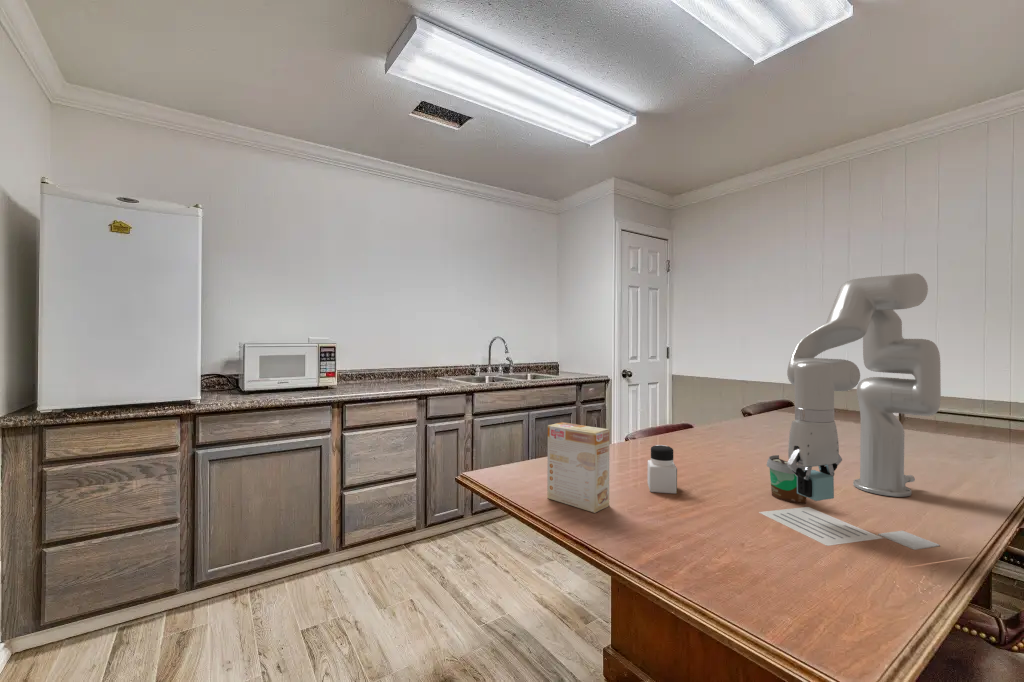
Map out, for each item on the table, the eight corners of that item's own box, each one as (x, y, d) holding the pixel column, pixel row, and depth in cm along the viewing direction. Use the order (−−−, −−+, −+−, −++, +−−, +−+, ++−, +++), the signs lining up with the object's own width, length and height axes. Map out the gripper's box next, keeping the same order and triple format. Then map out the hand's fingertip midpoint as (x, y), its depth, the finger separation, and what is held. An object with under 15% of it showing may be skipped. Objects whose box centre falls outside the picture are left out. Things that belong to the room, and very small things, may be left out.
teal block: (814, 490, 106) (813, 469, 106) (833, 498, 101) (833, 476, 101) (796, 493, 105) (796, 472, 105) (816, 501, 100) (815, 478, 100)
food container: (756, 490, 125) (756, 454, 124) (777, 490, 125) (777, 454, 125) (787, 507, 112) (787, 467, 112) (810, 506, 113) (810, 467, 113)
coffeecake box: (610, 506, 113) (610, 428, 113) (594, 514, 108) (595, 433, 107) (562, 491, 123) (562, 421, 123) (546, 498, 118) (546, 424, 118)
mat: (902, 532, 98) (902, 530, 98) (940, 546, 91) (940, 544, 91) (878, 535, 96) (878, 533, 96) (914, 550, 89) (914, 548, 89)
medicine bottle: (677, 494, 121) (677, 450, 121) (649, 492, 123) (650, 448, 123) (673, 485, 128) (673, 444, 128) (647, 484, 130) (647, 442, 130)
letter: (808, 507, 112) (808, 506, 112) (883, 538, 95) (883, 537, 95) (758, 513, 108) (758, 512, 108) (826, 546, 91) (826, 545, 91)
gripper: (828, 409, 108) (829, 484, 109) (770, 415, 104) (771, 492, 105) (859, 415, 101) (860, 495, 101) (798, 421, 97) (799, 504, 97)
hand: (814, 492), depth 103 cm, fingers closed on teal block, 5 cm apart
